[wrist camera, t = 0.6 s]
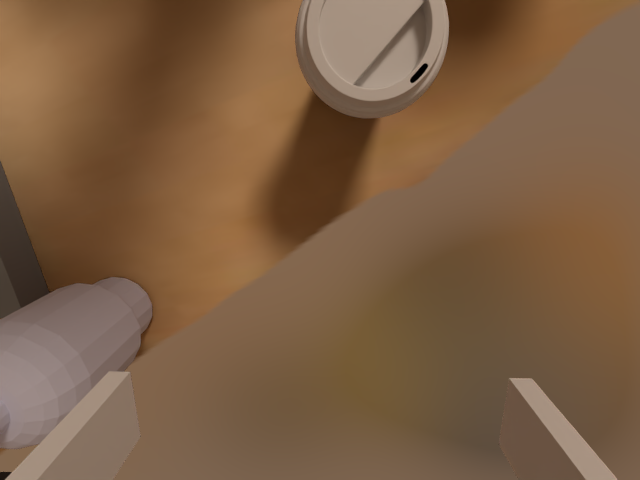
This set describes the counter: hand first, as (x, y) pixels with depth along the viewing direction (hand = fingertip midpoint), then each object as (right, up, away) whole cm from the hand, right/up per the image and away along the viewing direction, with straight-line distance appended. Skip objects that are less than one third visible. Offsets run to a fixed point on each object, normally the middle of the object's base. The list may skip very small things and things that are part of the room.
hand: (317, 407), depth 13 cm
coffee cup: (+4, +22, +23) cm, 32 cm away
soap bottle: (-23, -2, +30) cm, 37 cm away
